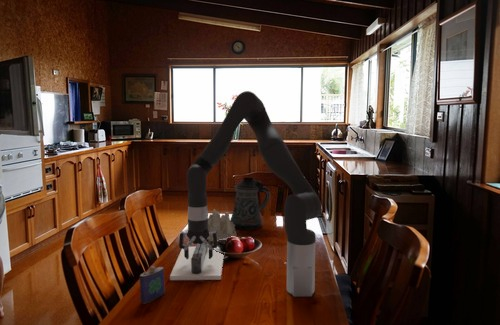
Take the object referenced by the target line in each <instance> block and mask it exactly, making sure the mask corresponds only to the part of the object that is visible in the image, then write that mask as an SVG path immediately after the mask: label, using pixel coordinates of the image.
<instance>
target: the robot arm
mask: <svg viewBox="0 0 500 325" xmlns="http://www.w3.org/2000/svg"><path fill="white" fill-rule="evenodd" d="M243 120H245V121H246V123H247V124H248V125H249V127H250V128H251V130H252V131H253V133H254V135H255V138H256V142H257V146H258V150H259V151H258V152H259V153H260V155H261V157H262V159H263V161H264V162H265V164H266V166H267V168H268V170H270V171H271V173H274V175H275V176H277V177H278V178H279V179H280V180H282V181H283V182H284V183H285V184H287V186H288V187H289V188H290V190H291V191H292V192H293V193H292V194H289V195H287V197H286V198H285V201H284V208H283V210H284V211H283V213H284V215H283V216H284V229H285V230H284V231H285V234H286V243H287V244H286V291H287V293H289V294H290V295H292V297H312V296H313V294H314V293H315V286H316V282H315V281H316V280H315V277H316V276H315V275H316V241H317V240H316V233H315V232H314V231H313V230H312V229H309V228H307V226H308V225H307V221H308V220H313V219H315V218H318V217H320V215H321V213H322V202H321V199H320V197H319V195H318V194H317V192H316V191H315V190H314V188H313V187H312V185H311V184H310V182H309V181H308V180H307V178H306V177H305V175H304V174H303V172H302V171H301V169H300V168H299V166H298V164H297V162H296V161H295V159H294V158H293V156H292V153H291V152H290V150H289V148H288V146H287V145H286V143H285V141H284V140H283V138H282V136H281V134H280V133H279V132H278V130H277V129H276V127H275V126H274V125H273V123H272V121H271V119H270V117H269V114H268V112H267V110H266V107H265V104H264V103H263V101H262V100H261V99H260V97H258V96H257V95H256V94H255V93H254V92H252V91H249V90H245V91H243V92H240V94H238V95H237V97H236V98H235V99H234V101H233V102H232V105H231V106H230V108H229V110H228V111H227V114H226V116H225V117H224V119H223V121H222V123H221V125H220V126H219V128H218V129H217V131H216V132H215V134H214V135H213V137H212V138H211V139H210V141H209V142H208V143H207V145H206V146H205V147H204V149H203V150H202V152H201V153H200V155H199V156H198V157H197V158H196V159H195V160H194V161H193V163H192V164H191V165H190V167H189V168H188V170H187V172H186V185H187V192H188V193H187V205H188V206H187V232H184V231H183V230H182V231H180V233H179V245H178V248H179V249H181V250H182V249H184V257H185V258H186V259H188V258H189V248H188V247H191V245H192V244H194V245H197V244H198V243H199V244H202V243H204V244H205V245H206V246H207V247H208V248H209V259H211V258H212V256H213V249H214V248H217V246H219V245H218V242H217V232H216V231H214V232H209V231H208V218H209V211H208V194H207V176H208V174H209V173H210V172H211V170H212V169H213V168H214V166H216V165H217V164H218V162H219V161H221V159H222V158H223V156H224V155H225V154H226V153H227V151H228V150H229V148H230V145H231V144H232V140H233V138H234V134H235V132H236V130H237V128H238V127H239V125H240V123H241V122H243ZM209 235H210V236H211V237H212V238H213V241H214V242H213V241H212V242H213V244H212V242H211V241H209V240H208V237H209ZM186 237H187V238H188V241H187V243H186V244H184V240H185V238H186Z"/></svg>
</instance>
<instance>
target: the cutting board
mask: <svg viewBox="0 0 500 325" xmlns="http://www.w3.org/2000/svg"><path fill="white" fill-rule="evenodd" d="M188 248H189V258H188V259H186V258H185V257H184V249H182V248H181V250H180V253H179V254H178V257H177V259H176V262H175V264H174V265H173V268H172V271H171V273H170V275H169V281H205V280H206V281H207V280H208V281H209V280H211V281H216V280H217V281H218V280H219V281H220V280H221V281H222V276H221V275H222V274H223V268H222V267H223V266H224V260H223V259H224V258H225V254H224V255H223V254H221V253H219V252H216V251H215V250H213V256H212V258H211V259H209V248H208V250H207V251H206V255H205V259H204V263H203V267H202V271H201V273H199V274H193V273H192V272H191V258H192V256H193V254H194V251H195V248H196V245H195V246H189V247H188Z"/></svg>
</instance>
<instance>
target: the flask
mask: <svg viewBox="0 0 500 325" xmlns="http://www.w3.org/2000/svg"><path fill="white" fill-rule="evenodd" d="M139 290H140V304H142V305H145V304H149V303H151V302H154V301H156V300H157V299H159V298H161V297H163V296H164V295H165V294H166V293H165V292H166V288H165V267H163V266H158V267H157V266H154V265H150V269H149V270H148V271H146V272H144V271H143V273H140V275H139Z"/></svg>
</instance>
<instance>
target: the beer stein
mask: <svg viewBox="0 0 500 325" xmlns="http://www.w3.org/2000/svg"><path fill="white" fill-rule="evenodd" d="M263 184H264V183H263V182H262V181H260V180H255V178H253V177H243V178H242V180H241V181H239V183H238V182H237V184H236V185H235V187H234V188H235V193H236V194H235V200H234V204H233V205H234V206H233V210H232V215H231V217H230V220H231V222H232V223H233V224H234V225H235V227H234V228H235V230H239V231H255V230H259V229H260V228H261V227H262V224H263V218H262V216H261V212H262V211H263V210H264V208H266V207H267V205H268V203H269V202H270V199H271V192H270V189H269V188H267V187H266V185H265V186H264V185H263ZM259 193H264V196H265V198H264V199H263V200H264V201H263V202H261V204H259V195H258V194H259Z"/></svg>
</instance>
